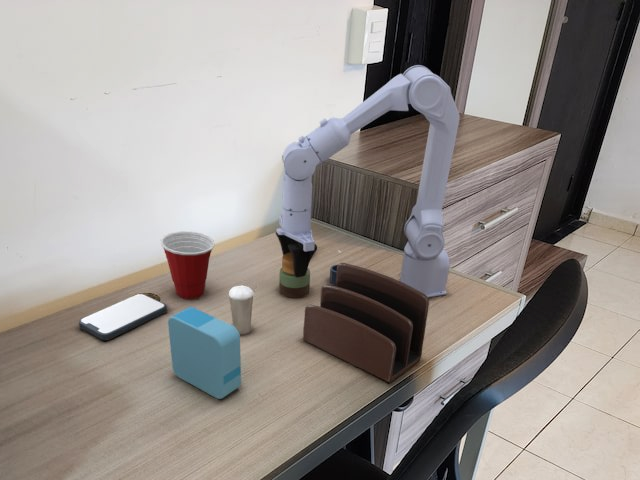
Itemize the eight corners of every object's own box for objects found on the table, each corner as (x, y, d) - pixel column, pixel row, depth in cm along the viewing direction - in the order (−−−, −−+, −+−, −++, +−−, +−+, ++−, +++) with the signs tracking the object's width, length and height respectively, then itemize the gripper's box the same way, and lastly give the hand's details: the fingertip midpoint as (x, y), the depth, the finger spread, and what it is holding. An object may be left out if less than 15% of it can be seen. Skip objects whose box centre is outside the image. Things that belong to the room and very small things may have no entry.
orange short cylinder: (302, 261, 132) (302, 250, 131) (311, 272, 128) (312, 260, 127) (278, 265, 131) (278, 253, 129) (287, 276, 127) (287, 264, 125)
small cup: (343, 276, 139) (344, 263, 137) (351, 284, 135) (353, 271, 134) (326, 278, 137) (327, 265, 136) (334, 287, 134) (335, 274, 132)
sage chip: (302, 272, 135) (303, 262, 133) (314, 285, 130) (314, 275, 128) (275, 276, 133) (275, 266, 131) (285, 290, 128) (286, 279, 126)
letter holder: (335, 321, 122) (340, 255, 114) (421, 361, 111) (433, 291, 103) (302, 340, 116) (304, 272, 108) (389, 384, 105) (400, 312, 97)
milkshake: (257, 337, 117) (257, 289, 111) (229, 336, 117) (227, 289, 111) (258, 324, 121) (258, 278, 115) (231, 324, 121) (229, 277, 115)
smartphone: (141, 298, 129) (76, 327, 119) (140, 291, 128) (75, 320, 118) (170, 312, 125) (105, 343, 114) (169, 305, 124) (104, 336, 113)
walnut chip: (302, 282, 136) (302, 272, 135) (313, 295, 131) (314, 285, 130) (275, 286, 134) (275, 276, 133) (285, 300, 129) (285, 290, 128)
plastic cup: (214, 306, 126) (211, 251, 120) (161, 305, 126) (156, 250, 120) (219, 281, 135) (217, 230, 129) (170, 280, 135) (165, 229, 129)
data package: (241, 390, 103) (240, 328, 96) (223, 402, 100) (220, 340, 93) (191, 363, 109) (186, 303, 103) (172, 374, 106) (166, 314, 100)
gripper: (265, 196, 126) (265, 258, 134) (291, 222, 115) (289, 287, 123) (297, 193, 128) (295, 253, 136) (326, 218, 117) (322, 282, 125)
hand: (294, 269), depth 130 cm, fingers closed on orange short cylinder, 5 cm apart
